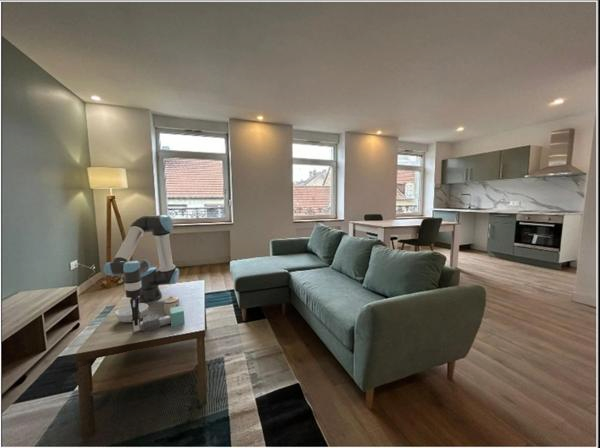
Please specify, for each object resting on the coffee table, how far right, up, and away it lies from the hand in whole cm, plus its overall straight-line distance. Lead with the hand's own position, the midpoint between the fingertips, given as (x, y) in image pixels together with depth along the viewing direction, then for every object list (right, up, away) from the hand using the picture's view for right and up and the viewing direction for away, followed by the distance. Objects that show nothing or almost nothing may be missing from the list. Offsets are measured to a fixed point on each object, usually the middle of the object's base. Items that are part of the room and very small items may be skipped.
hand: (137, 328), depth 137 cm
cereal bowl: (-12, -1, +15) cm, 19 cm away
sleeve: (+6, -2, +4) cm, 7 cm away
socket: (+18, -1, +11) cm, 21 cm away
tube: (+8, 0, +5) cm, 10 cm away
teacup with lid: (+7, 0, +25) cm, 26 cm away
